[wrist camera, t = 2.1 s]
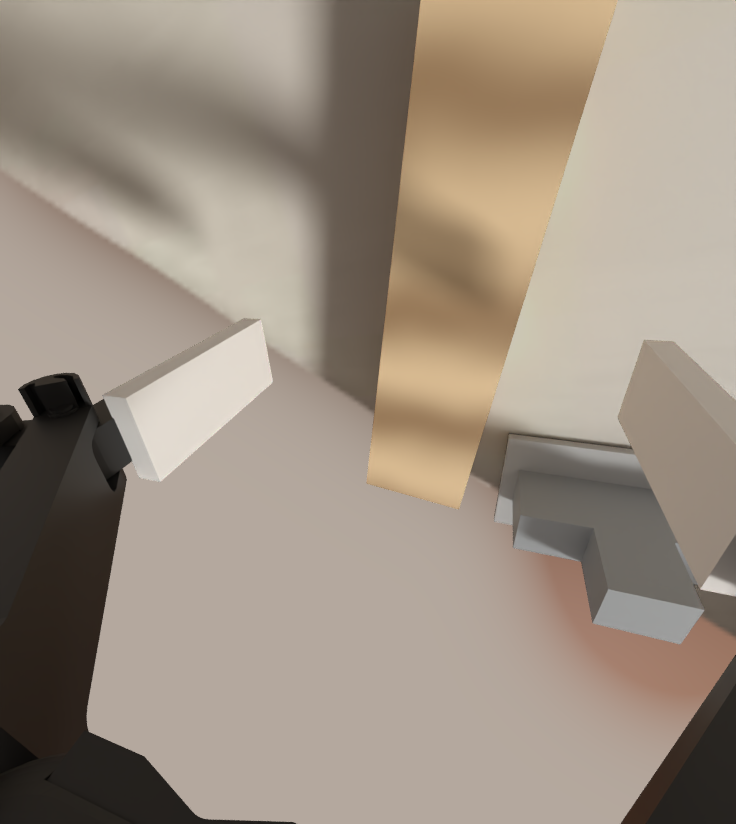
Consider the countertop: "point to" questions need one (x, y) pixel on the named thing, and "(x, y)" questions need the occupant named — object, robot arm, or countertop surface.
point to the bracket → (600, 531)
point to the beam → (472, 220)
